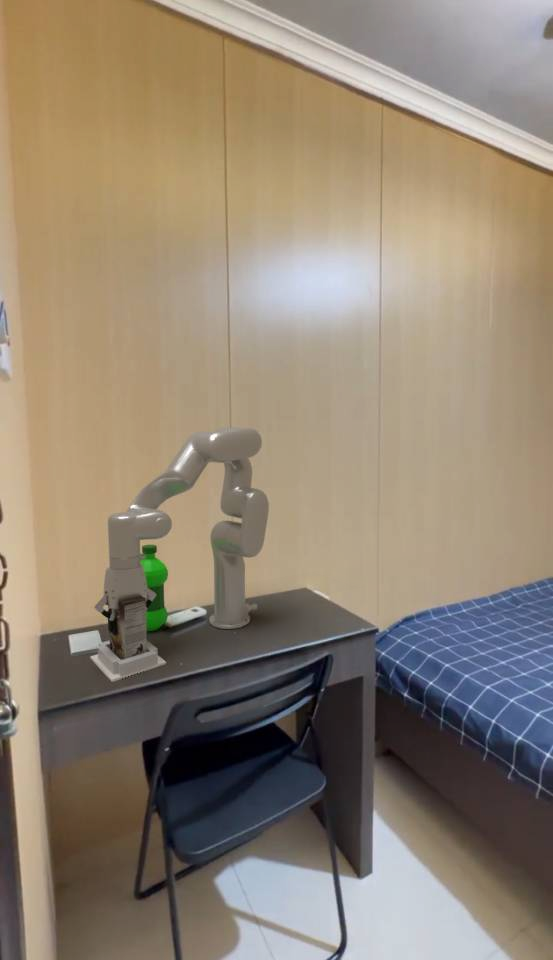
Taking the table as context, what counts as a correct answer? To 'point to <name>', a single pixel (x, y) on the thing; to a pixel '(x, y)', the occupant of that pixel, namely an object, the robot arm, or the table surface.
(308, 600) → the table surface
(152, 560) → the plastic bottle
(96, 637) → the hard drive
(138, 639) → the coffee box
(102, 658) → the tray
